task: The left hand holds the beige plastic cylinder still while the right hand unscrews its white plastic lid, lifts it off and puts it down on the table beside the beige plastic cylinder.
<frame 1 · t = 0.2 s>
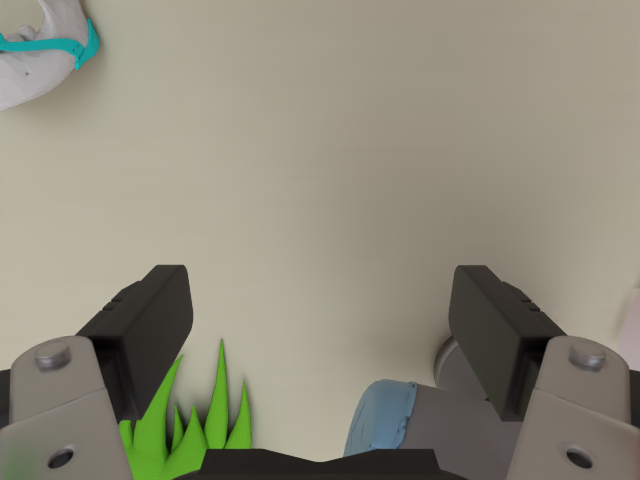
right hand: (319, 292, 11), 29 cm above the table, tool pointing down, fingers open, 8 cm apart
toy 2: (197, 422, 52), on the table
anatomical model: (32, 46, 35), on the table
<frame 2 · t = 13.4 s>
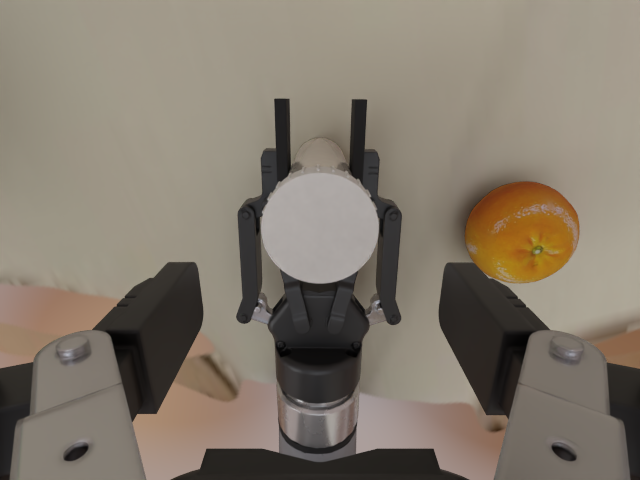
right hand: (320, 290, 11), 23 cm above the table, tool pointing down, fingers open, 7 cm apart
left hand: (320, 99, 25), fingers closed on beige plastic cylinder, 4 cm apart
lid: (320, 228, 17), point 17 cm above the table, screwed on, not yet turned
fruit: (500, 219, 35), on the table
beige plastic cylinder: (320, 163, 33), on the table, touching left hand
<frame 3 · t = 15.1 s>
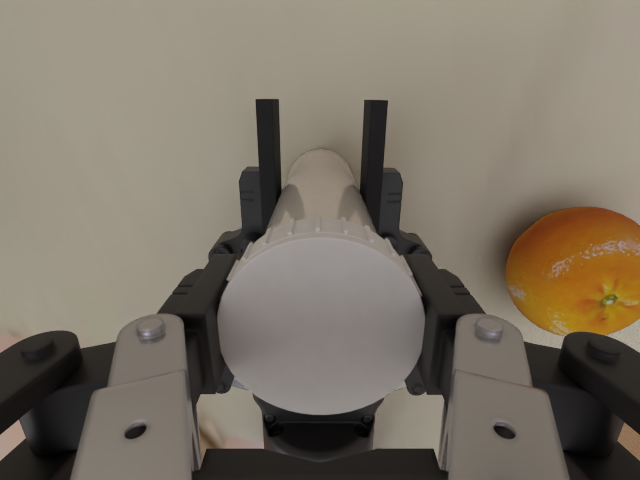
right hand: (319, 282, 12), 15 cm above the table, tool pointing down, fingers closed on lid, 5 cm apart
lid: (321, 327, 9), point 17 cm above the table, screwed on, not yet turned, touching right hand
fruit: (547, 251, 28), on the table
beige plastic cylinder: (320, 181, 26), on the table, touching left hand
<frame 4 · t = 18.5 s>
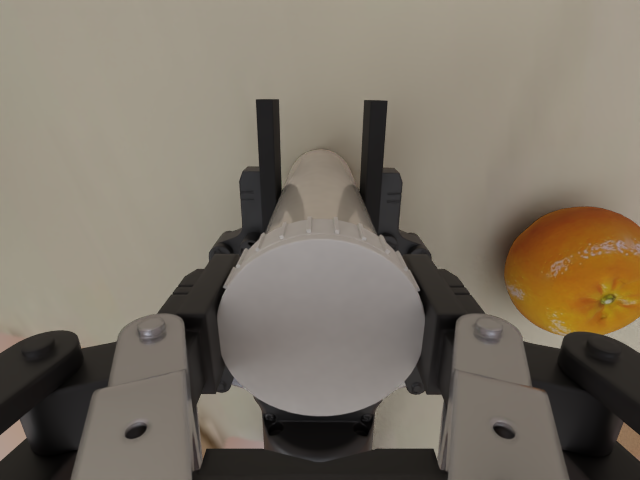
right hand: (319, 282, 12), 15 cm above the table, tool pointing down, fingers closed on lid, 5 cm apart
lid: (320, 328, 9), point 18 cm above the table, turned 76° so far, risen 0.1 cm, still on its thread, touching right hand
fruit: (546, 251, 28), on the table
beige plastic cylinder: (320, 181, 26), on the table, touching left hand
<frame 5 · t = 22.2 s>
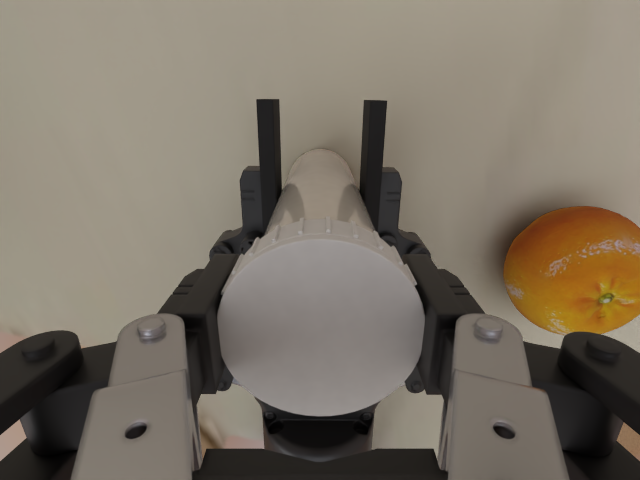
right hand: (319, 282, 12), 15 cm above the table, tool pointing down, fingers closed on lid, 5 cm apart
lid: (320, 328, 9), point 18 cm above the table, turned 152° so far, risen 0.2 cm, still on its thread, touching right hand
fruit: (545, 250, 28), on the table
beige plastic cylinder: (320, 181, 26), on the table, touching left hand
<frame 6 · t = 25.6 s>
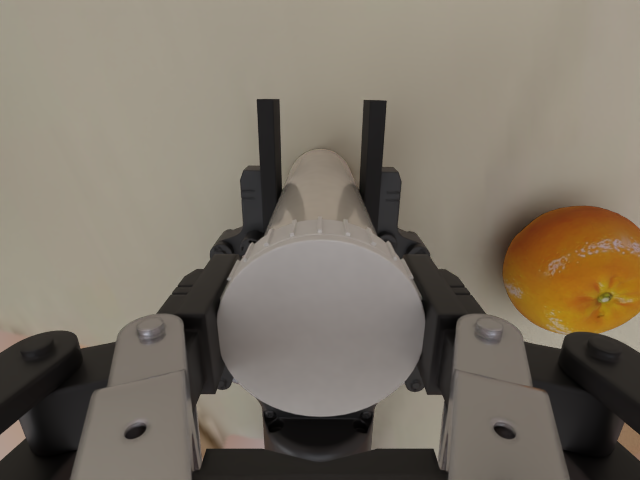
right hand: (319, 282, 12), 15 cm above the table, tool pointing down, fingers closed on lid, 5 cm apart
lid: (320, 329, 9), point 18 cm above the table, turned 229° so far, risen 0.3 cm, still on its thread, touching right hand
fruit: (544, 250, 28), on the table
beige plastic cylinder: (320, 180, 26), on the table, touching left hand
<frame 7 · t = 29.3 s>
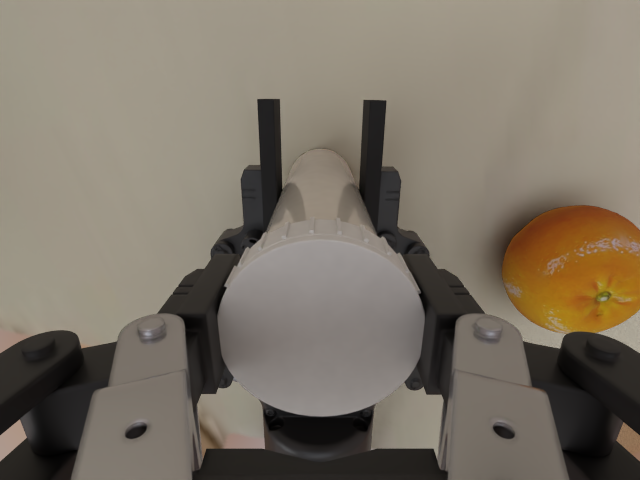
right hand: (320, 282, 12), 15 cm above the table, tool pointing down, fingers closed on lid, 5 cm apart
lid: (321, 329, 9), point 18 cm above the table, turned 305° so far, risen 0.5 cm, still on its thread, touching right hand
fruit: (543, 249, 28), on the table
beige plastic cylinder: (320, 180, 26), on the table, touching left hand
when the right hand's fingers open (0 cm above the table, at t = 39.5 s): lid drops 2 cm, point 1 cm above the table.
when the left hand's fingers open (6 cm above the table, at t = 40.3 s): beige plastic cylinder stays where it is, on the table.
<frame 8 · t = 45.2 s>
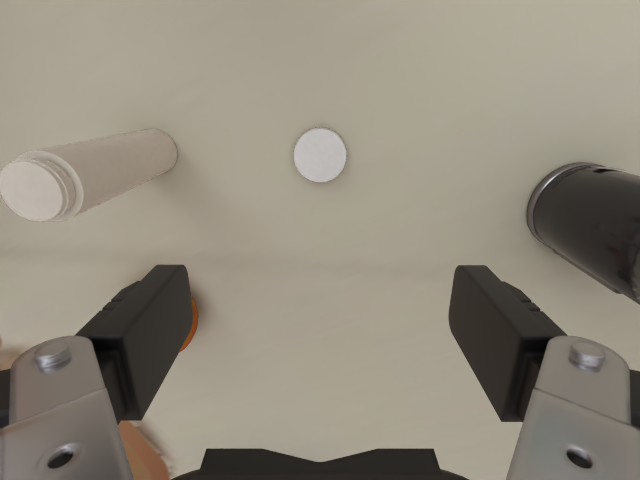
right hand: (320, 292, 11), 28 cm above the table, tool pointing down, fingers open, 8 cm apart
lid: (320, 155, 37), point 1 cm above the table, off its thread
beige plastic cylinder: (155, 151, 38), on the table
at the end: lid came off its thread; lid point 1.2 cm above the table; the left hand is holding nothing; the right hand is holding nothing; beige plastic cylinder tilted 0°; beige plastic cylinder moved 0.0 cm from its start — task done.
